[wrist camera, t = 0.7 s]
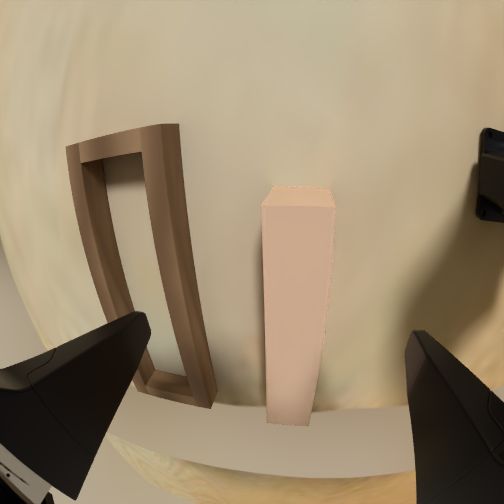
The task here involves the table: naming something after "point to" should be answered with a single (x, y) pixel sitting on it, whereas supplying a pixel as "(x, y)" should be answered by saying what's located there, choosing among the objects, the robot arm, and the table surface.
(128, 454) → the table surface
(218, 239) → the table surface
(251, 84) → the table surface
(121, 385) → the robot arm
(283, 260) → the clay strip
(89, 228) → the frame
